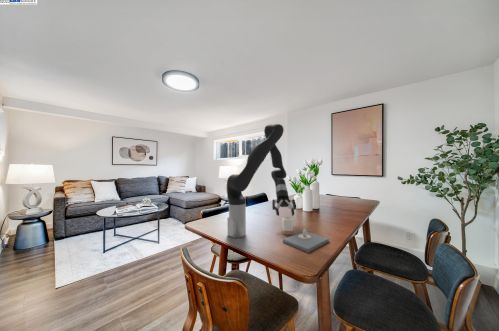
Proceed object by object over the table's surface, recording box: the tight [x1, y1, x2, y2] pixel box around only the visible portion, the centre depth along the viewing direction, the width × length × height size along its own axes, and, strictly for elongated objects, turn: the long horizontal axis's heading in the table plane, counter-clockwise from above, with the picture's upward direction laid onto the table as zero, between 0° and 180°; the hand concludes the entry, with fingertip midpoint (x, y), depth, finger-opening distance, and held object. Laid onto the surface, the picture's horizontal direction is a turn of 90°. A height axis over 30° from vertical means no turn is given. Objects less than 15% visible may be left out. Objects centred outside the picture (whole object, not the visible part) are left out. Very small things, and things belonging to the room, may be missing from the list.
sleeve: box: [281, 216, 294, 235], centre depth 102 cm, size 5×5×8 cm
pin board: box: [282, 228, 330, 253], centre depth 89 cm, size 18×14×5 cm
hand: (285, 215), depth 106 cm, fingers open, 8 cm apart
